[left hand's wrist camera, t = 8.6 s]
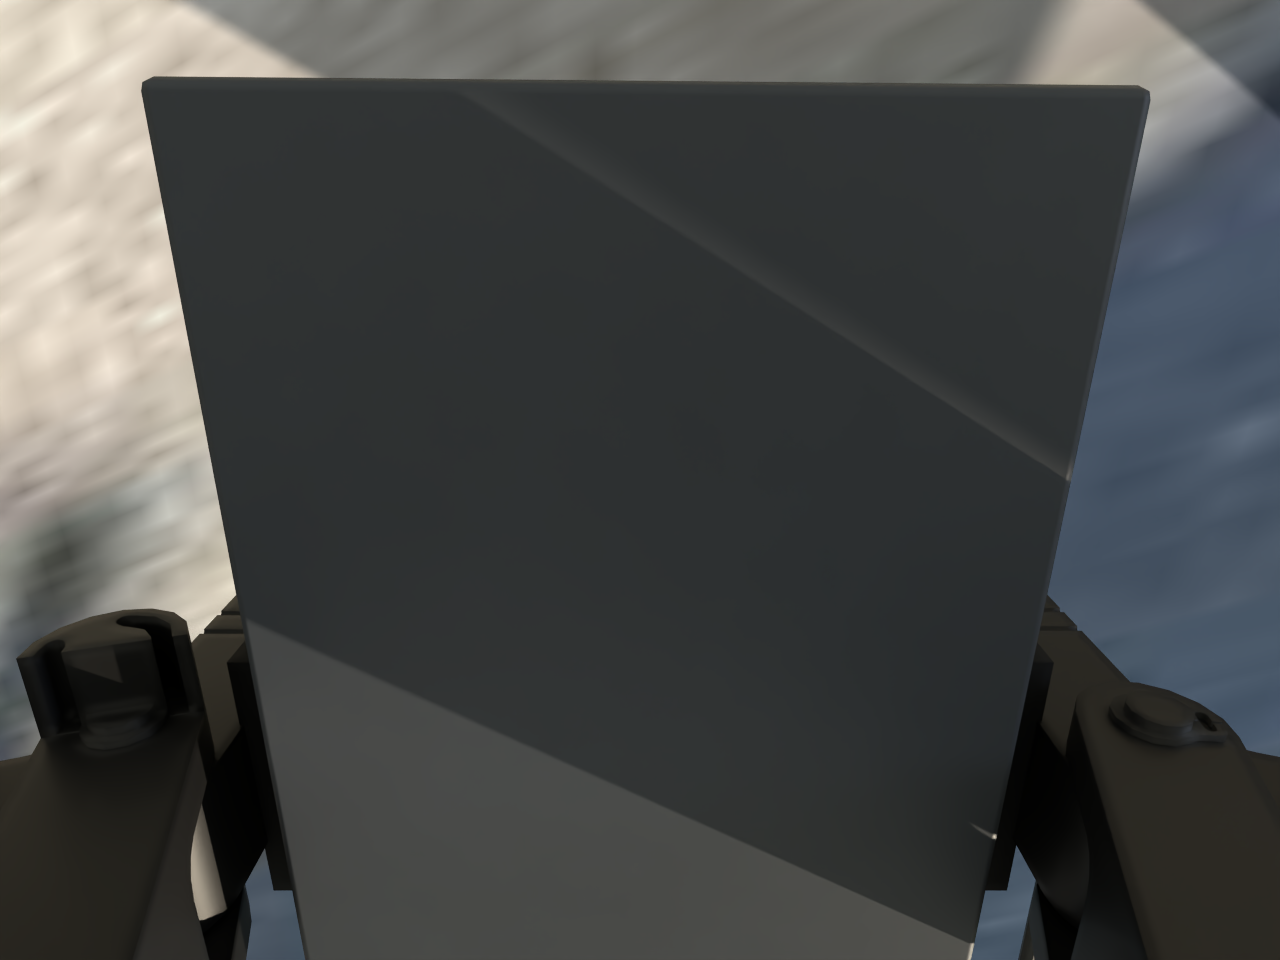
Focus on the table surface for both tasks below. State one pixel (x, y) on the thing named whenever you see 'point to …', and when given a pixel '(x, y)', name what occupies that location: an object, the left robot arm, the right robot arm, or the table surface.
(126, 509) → the table surface
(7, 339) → the table surface
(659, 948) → the beam
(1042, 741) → the left robot arm
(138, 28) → the table surface
